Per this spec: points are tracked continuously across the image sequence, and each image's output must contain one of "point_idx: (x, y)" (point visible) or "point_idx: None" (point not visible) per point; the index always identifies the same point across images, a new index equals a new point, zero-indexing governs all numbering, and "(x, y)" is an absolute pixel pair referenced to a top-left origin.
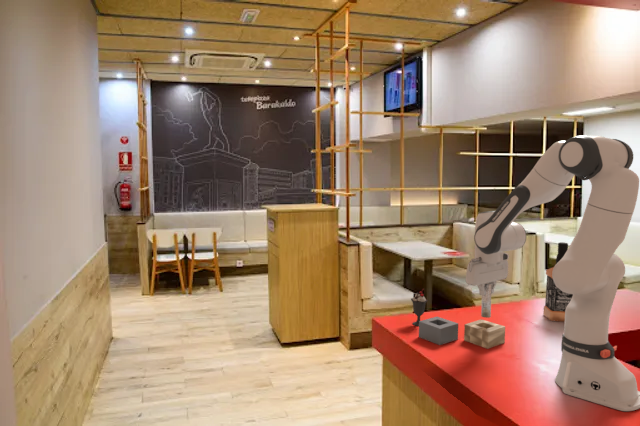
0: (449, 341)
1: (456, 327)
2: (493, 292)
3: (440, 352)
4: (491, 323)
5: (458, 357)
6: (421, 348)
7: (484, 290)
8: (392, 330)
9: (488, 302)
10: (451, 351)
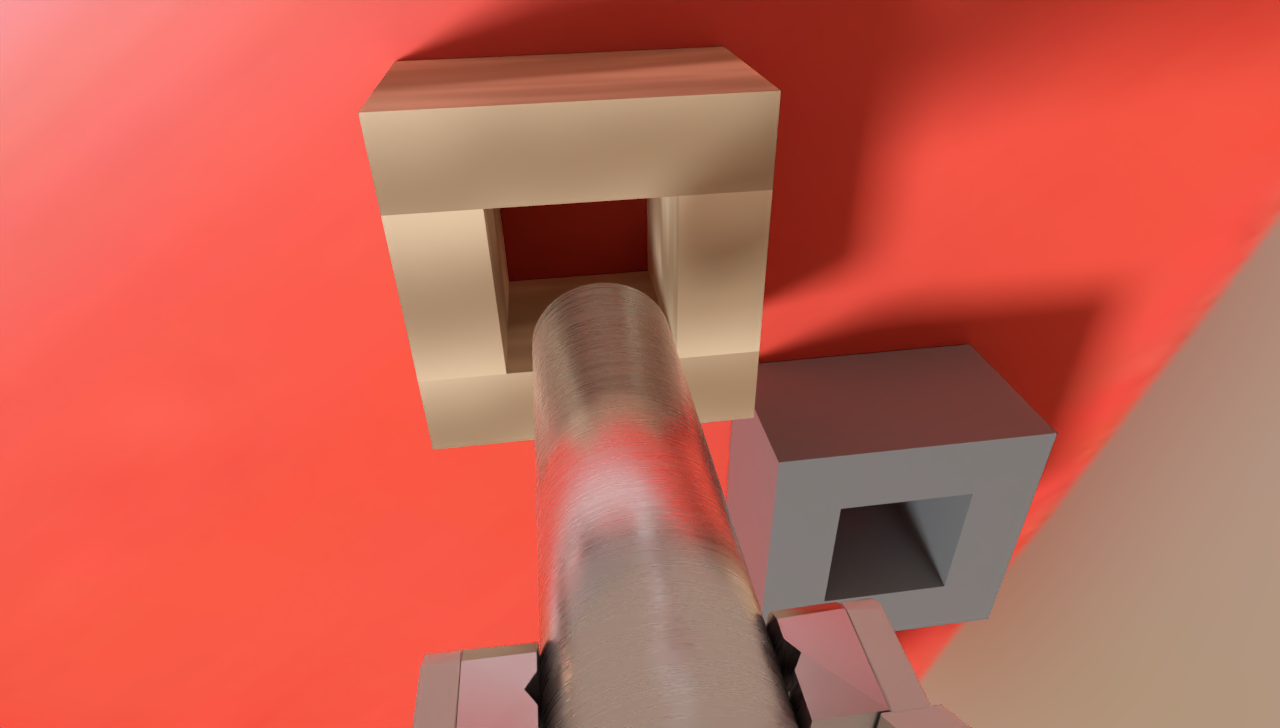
0: (850, 357)
1: (794, 435)
2: (435, 661)
3: (1115, 234)
4: (442, 298)
5: (1137, 64)
6: (1122, 362)
7: (908, 717)
8: (933, 647)
9: (673, 450)
10: (1036, 201)
